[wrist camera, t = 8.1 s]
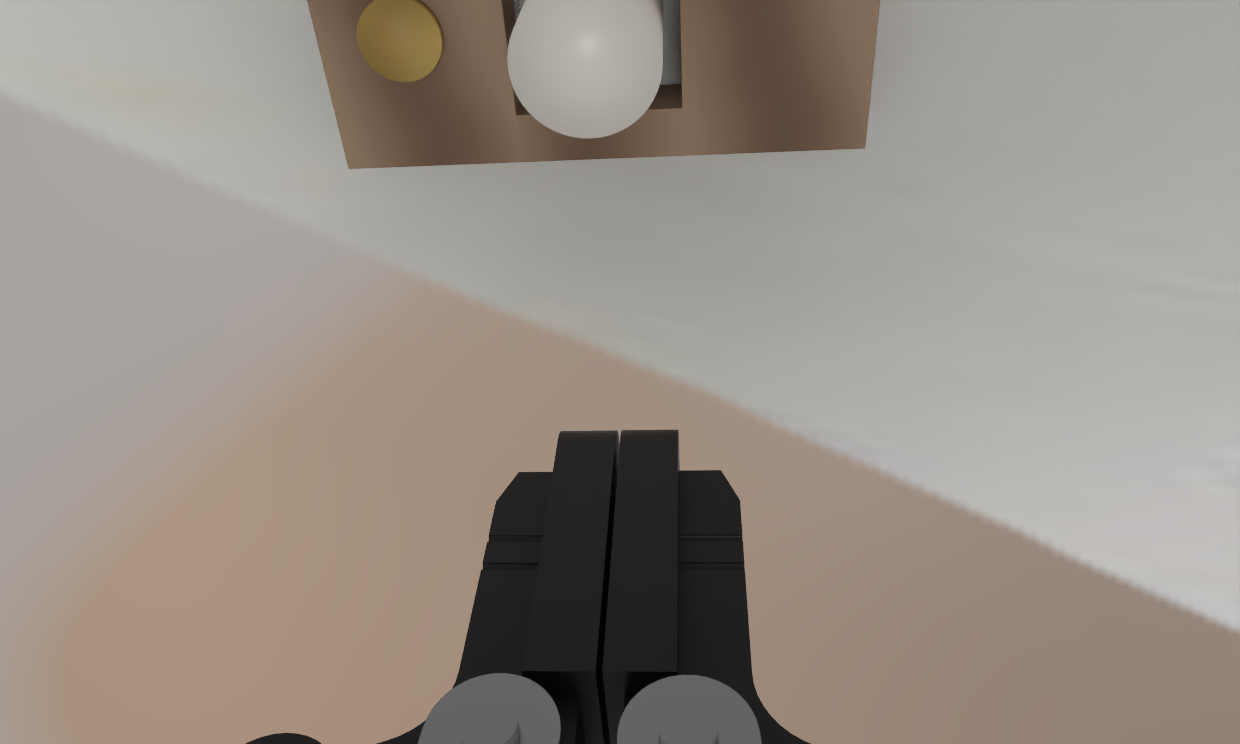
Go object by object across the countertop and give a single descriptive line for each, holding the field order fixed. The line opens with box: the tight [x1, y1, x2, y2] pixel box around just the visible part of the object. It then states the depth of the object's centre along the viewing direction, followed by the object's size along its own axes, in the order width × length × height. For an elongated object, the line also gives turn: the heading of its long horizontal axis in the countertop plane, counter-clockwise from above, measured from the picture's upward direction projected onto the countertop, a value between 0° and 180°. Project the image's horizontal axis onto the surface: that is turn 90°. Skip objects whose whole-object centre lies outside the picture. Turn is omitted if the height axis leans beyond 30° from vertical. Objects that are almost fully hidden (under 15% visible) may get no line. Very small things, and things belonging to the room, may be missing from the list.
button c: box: [507, 0, 663, 138], centre depth 26 cm, size 4×4×5 cm
